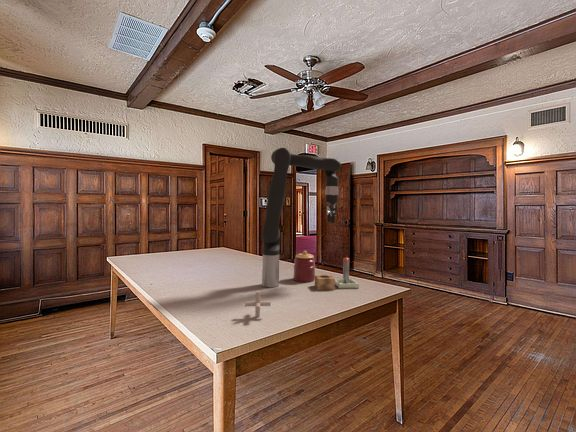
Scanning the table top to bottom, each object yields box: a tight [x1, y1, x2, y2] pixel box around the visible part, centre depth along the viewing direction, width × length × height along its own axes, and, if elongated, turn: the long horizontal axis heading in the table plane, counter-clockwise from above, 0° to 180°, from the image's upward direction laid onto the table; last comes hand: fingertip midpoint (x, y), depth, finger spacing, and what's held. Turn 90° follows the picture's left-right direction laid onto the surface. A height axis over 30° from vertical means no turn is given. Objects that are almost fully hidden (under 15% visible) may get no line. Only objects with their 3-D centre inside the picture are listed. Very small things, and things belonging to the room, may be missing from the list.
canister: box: [293, 250, 316, 283], centre depth 182 cm, size 13×13×18 cm
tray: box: [335, 278, 360, 290], centre depth 170 cm, size 11×11×2 cm
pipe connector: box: [244, 290, 272, 318], centre depth 120 cm, size 10×10×10 cm
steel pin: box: [342, 257, 350, 284], centre depth 170 cm, size 3×3×15 cm
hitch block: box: [314, 274, 336, 291], centre depth 165 cm, size 9×9×6 cm
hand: (330, 222), depth 176 cm, fingers open, 8 cm apart
